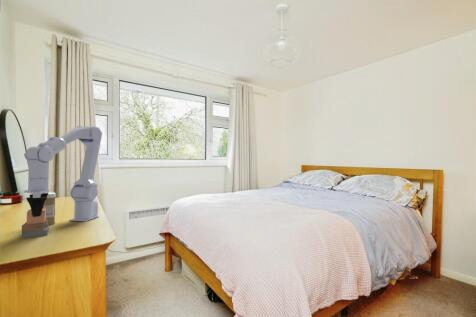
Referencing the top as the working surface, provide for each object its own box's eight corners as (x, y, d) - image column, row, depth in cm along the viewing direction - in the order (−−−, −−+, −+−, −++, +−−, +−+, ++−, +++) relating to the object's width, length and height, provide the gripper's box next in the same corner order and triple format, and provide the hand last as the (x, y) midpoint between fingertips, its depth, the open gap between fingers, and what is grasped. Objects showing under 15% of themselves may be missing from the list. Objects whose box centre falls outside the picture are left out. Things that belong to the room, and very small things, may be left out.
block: (28, 221, 86) (28, 209, 86) (45, 219, 89) (46, 208, 89) (26, 224, 82) (26, 212, 82) (44, 222, 85) (44, 210, 85)
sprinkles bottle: (55, 222, 101) (56, 192, 101) (53, 224, 97) (54, 193, 97) (42, 223, 99) (43, 192, 99) (39, 226, 95) (40, 194, 95)
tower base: (24, 234, 86) (24, 227, 86) (48, 231, 90) (48, 225, 90) (21, 240, 81) (22, 233, 81) (47, 236, 85) (47, 229, 85)
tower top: (27, 227, 86) (27, 221, 86) (47, 226, 89) (47, 219, 89) (21, 232, 81) (21, 225, 81) (43, 230, 84) (43, 223, 84)
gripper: (26, 177, 89) (25, 211, 89) (21, 180, 77) (20, 220, 77) (49, 176, 93) (48, 209, 93) (48, 179, 82) (47, 217, 82)
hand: (37, 214), depth 86 cm, fingers open, 7 cm apart
